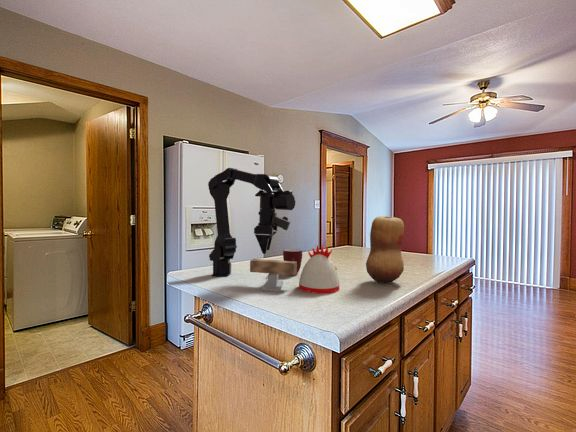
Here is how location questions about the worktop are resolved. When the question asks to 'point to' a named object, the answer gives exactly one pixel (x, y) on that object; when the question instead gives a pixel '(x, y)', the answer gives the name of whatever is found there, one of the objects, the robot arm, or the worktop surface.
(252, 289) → the worktop surface
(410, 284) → the worktop surface
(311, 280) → the kitchen timer
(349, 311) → the worktop surface
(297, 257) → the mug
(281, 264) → the walnut bar
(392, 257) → the butternut squash
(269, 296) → the worktop surface
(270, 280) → the ridge block
